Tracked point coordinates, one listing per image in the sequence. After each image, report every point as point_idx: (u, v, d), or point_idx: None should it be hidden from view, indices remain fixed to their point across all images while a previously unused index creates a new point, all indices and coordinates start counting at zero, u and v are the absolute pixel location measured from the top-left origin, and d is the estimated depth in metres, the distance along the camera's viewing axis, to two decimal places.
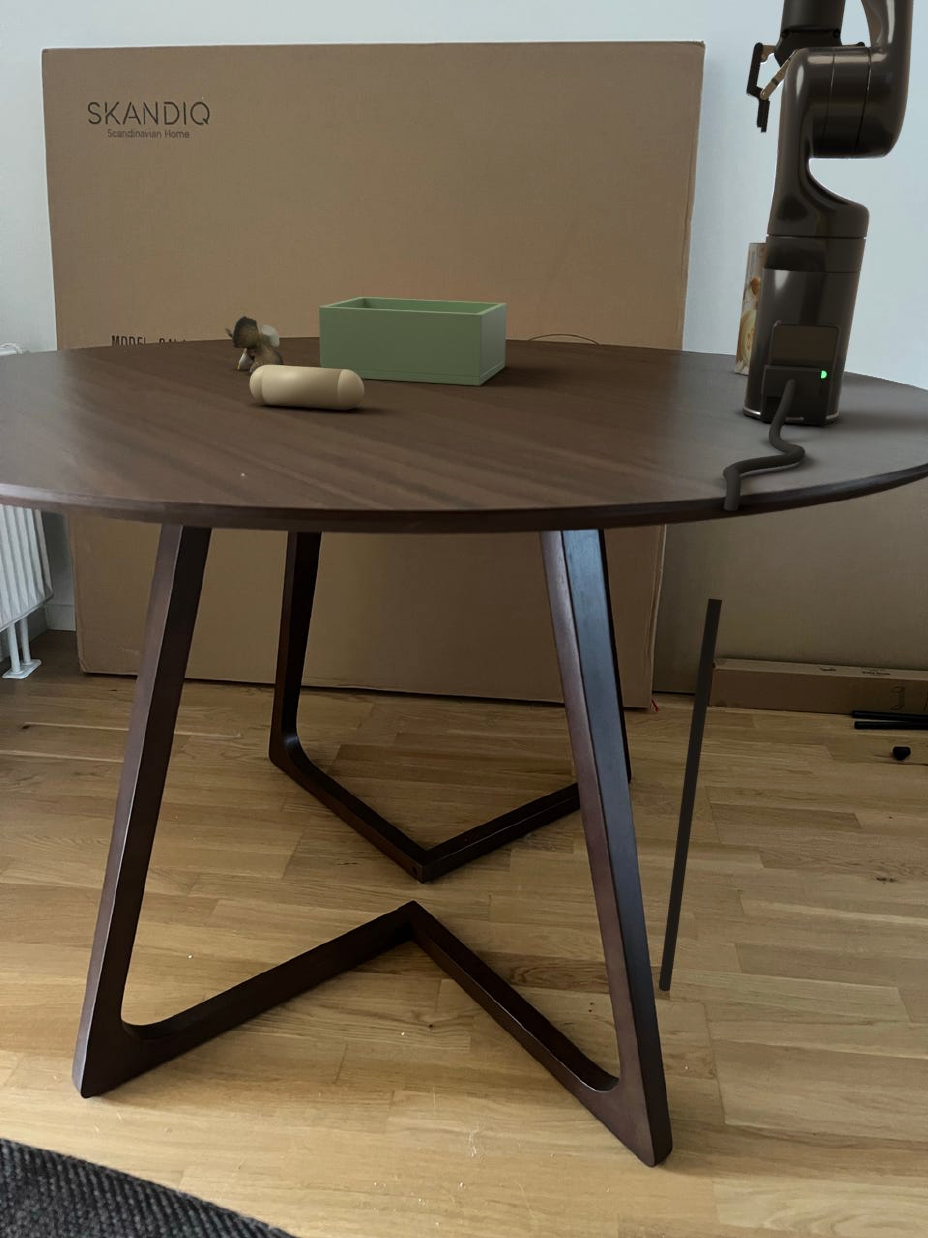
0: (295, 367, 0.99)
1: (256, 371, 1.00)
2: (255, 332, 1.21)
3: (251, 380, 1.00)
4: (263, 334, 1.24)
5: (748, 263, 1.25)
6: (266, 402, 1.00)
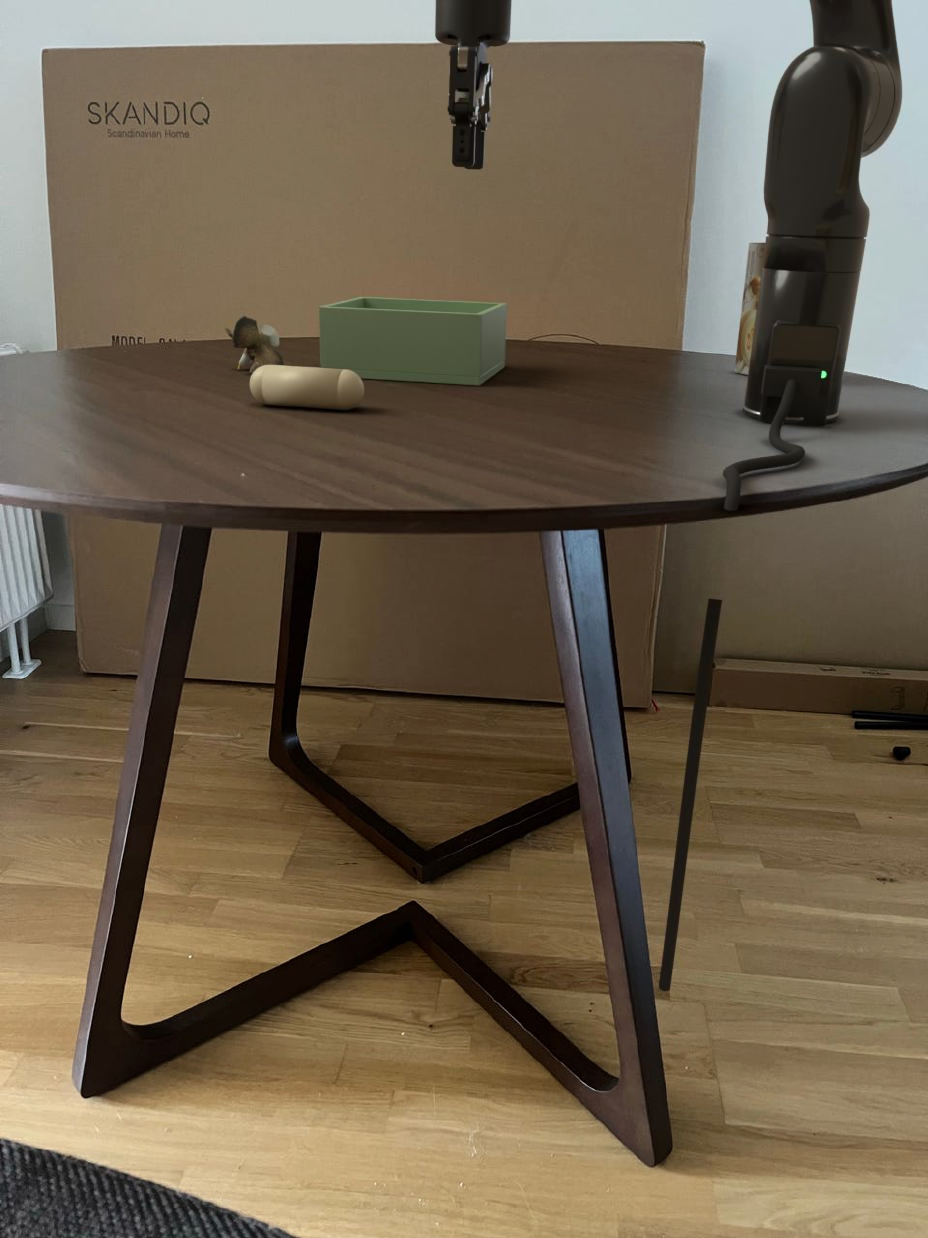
0: (295, 367, 0.99)
1: (256, 371, 1.00)
2: (255, 332, 1.21)
3: (251, 380, 1.00)
4: (263, 334, 1.24)
5: (748, 263, 1.25)
6: (266, 402, 1.00)
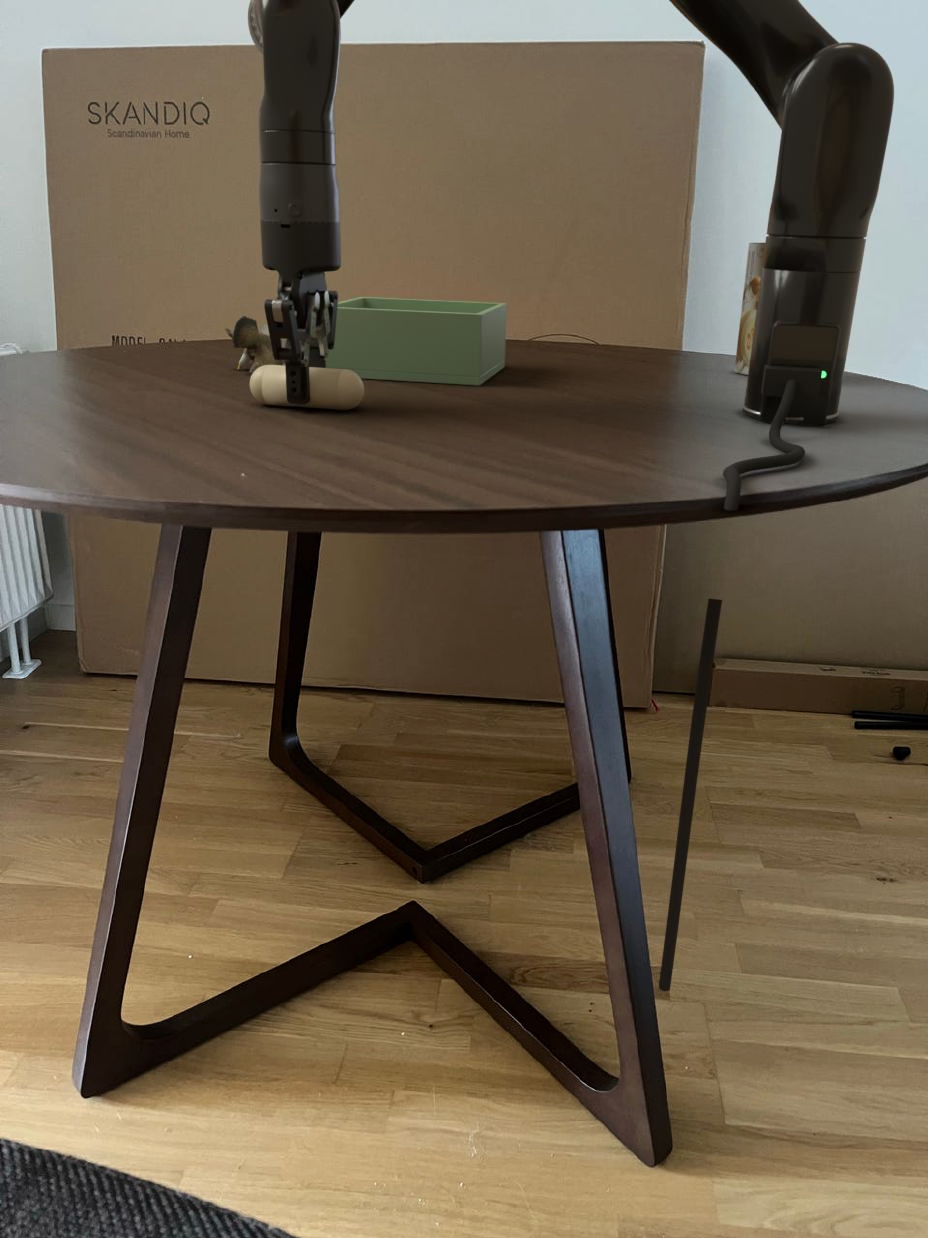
0: None
1: (256, 371, 1.00)
2: (255, 332, 1.21)
3: (251, 380, 1.00)
4: (263, 334, 1.24)
5: (748, 263, 1.25)
6: (266, 402, 1.00)
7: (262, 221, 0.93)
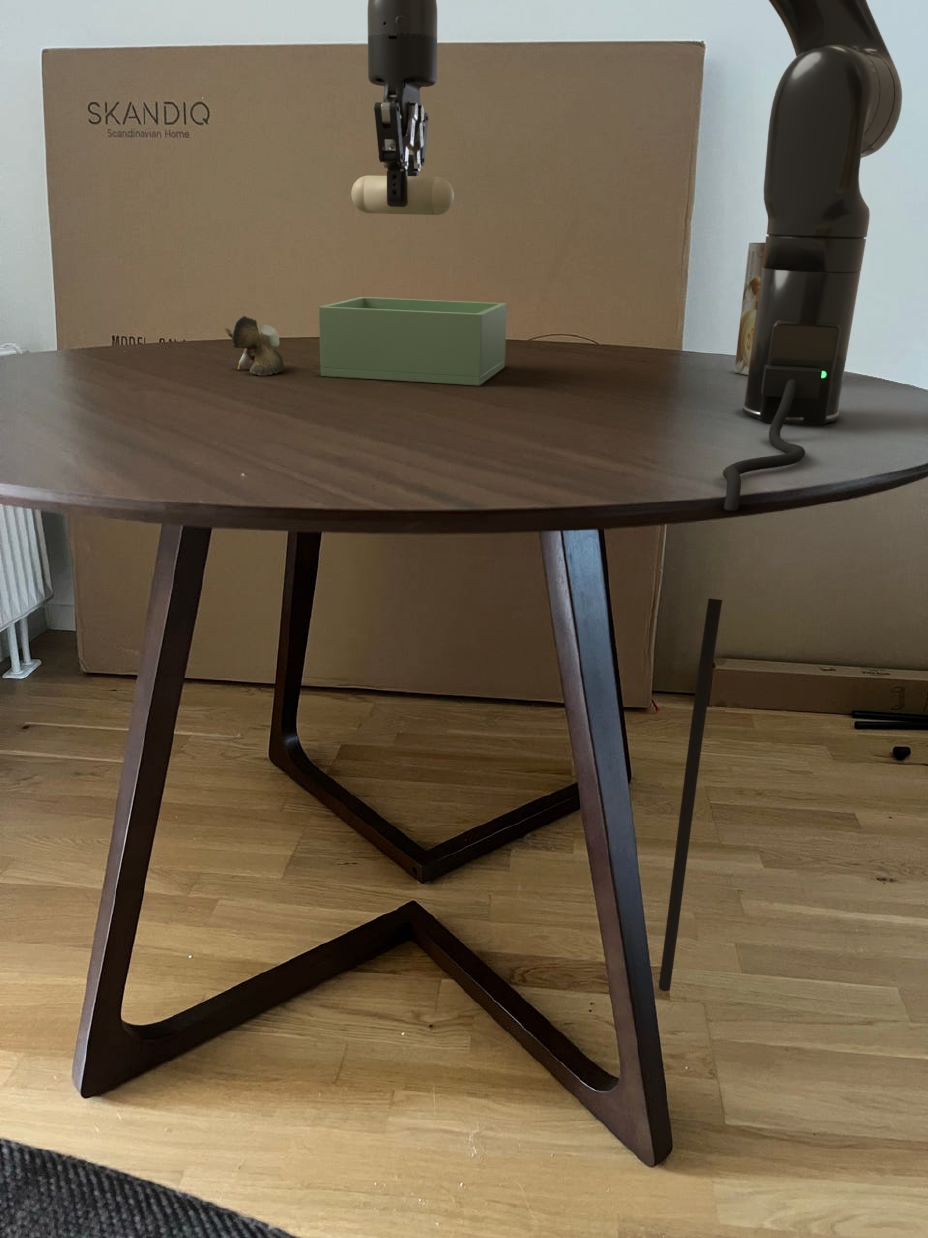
0: None
1: (358, 180, 1.13)
2: (255, 332, 1.21)
3: (353, 188, 1.13)
4: (263, 334, 1.24)
5: (748, 263, 1.25)
6: (366, 209, 1.14)
7: (371, 35, 1.06)
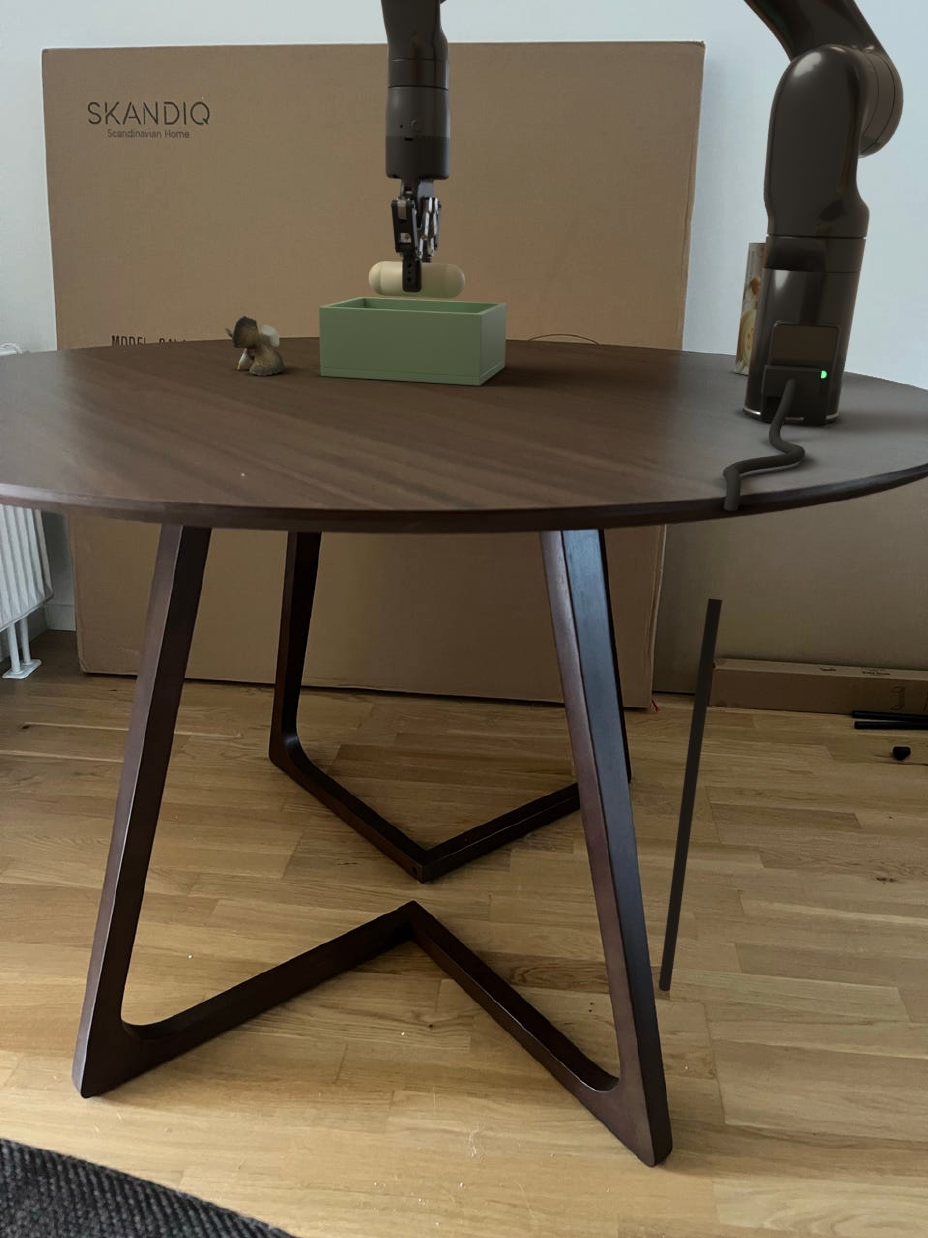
0: None
1: (375, 266, 1.20)
2: (255, 332, 1.21)
3: (371, 273, 1.20)
4: (263, 334, 1.24)
5: (748, 263, 1.25)
6: (383, 292, 1.21)
7: (388, 136, 1.13)
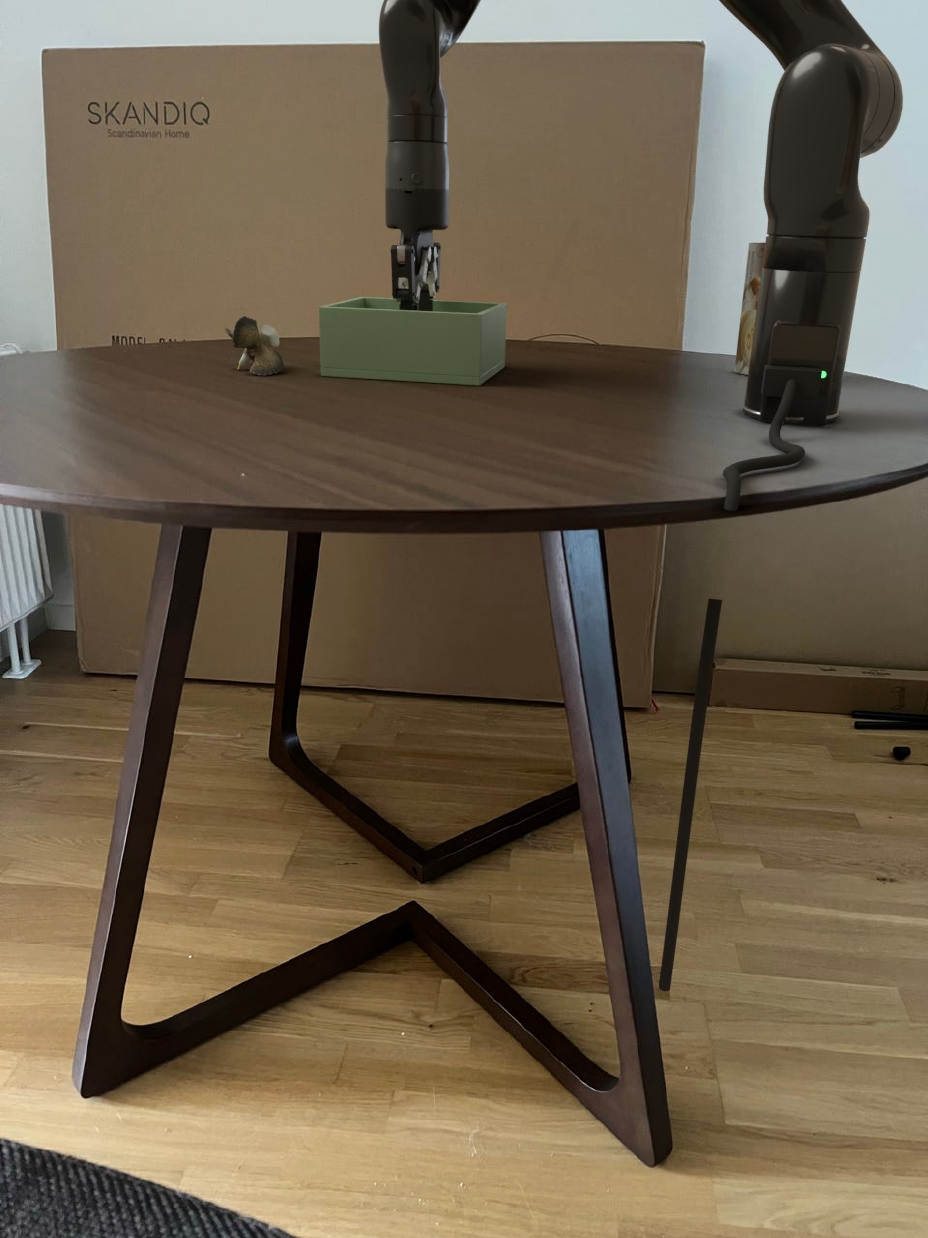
0: None
1: None
2: (255, 332, 1.21)
3: None
4: (263, 334, 1.24)
5: (748, 263, 1.25)
6: None
7: (388, 188, 1.15)
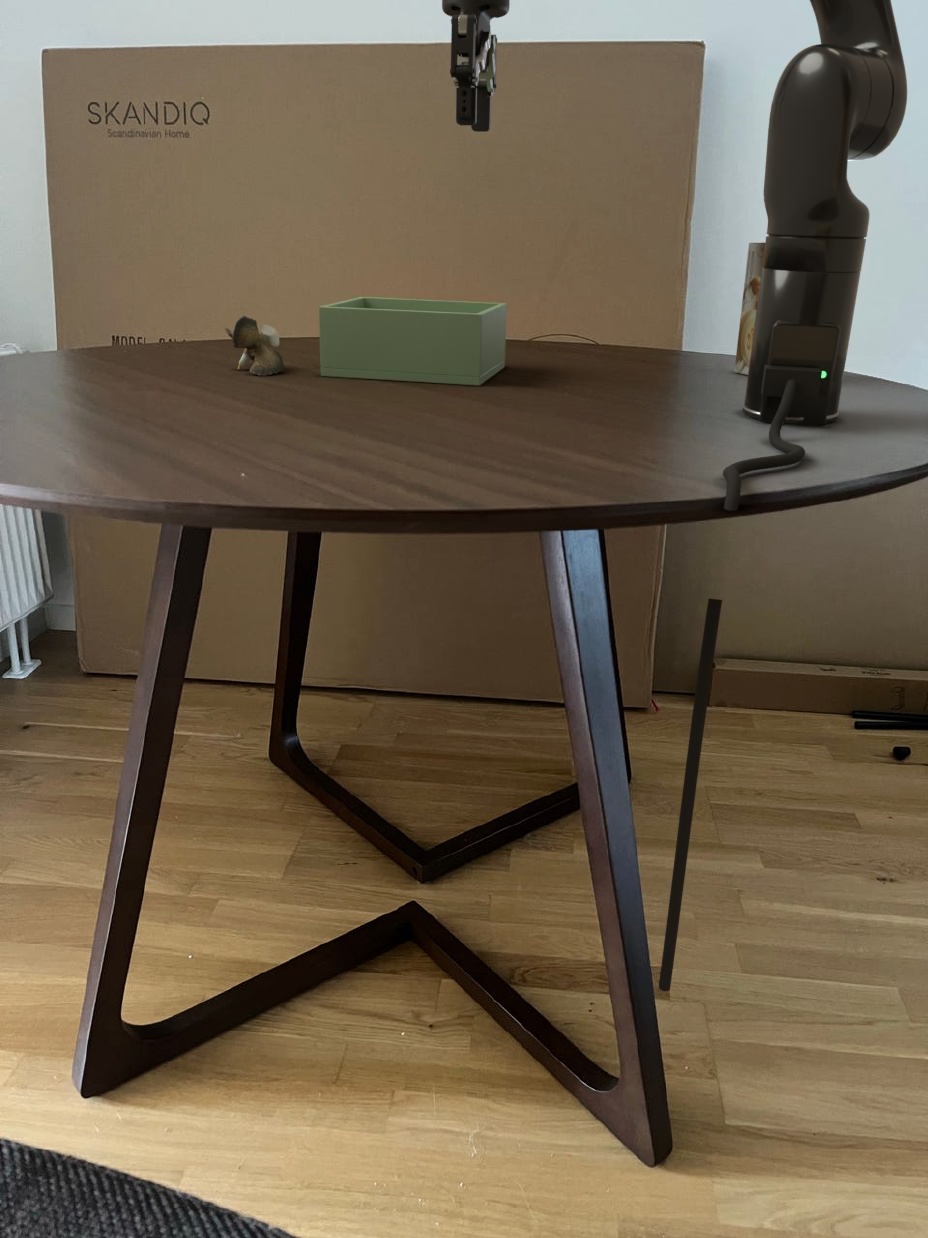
0: None
1: None
2: (255, 332, 1.21)
3: None
4: (263, 334, 1.24)
5: (748, 263, 1.25)
6: None
7: None
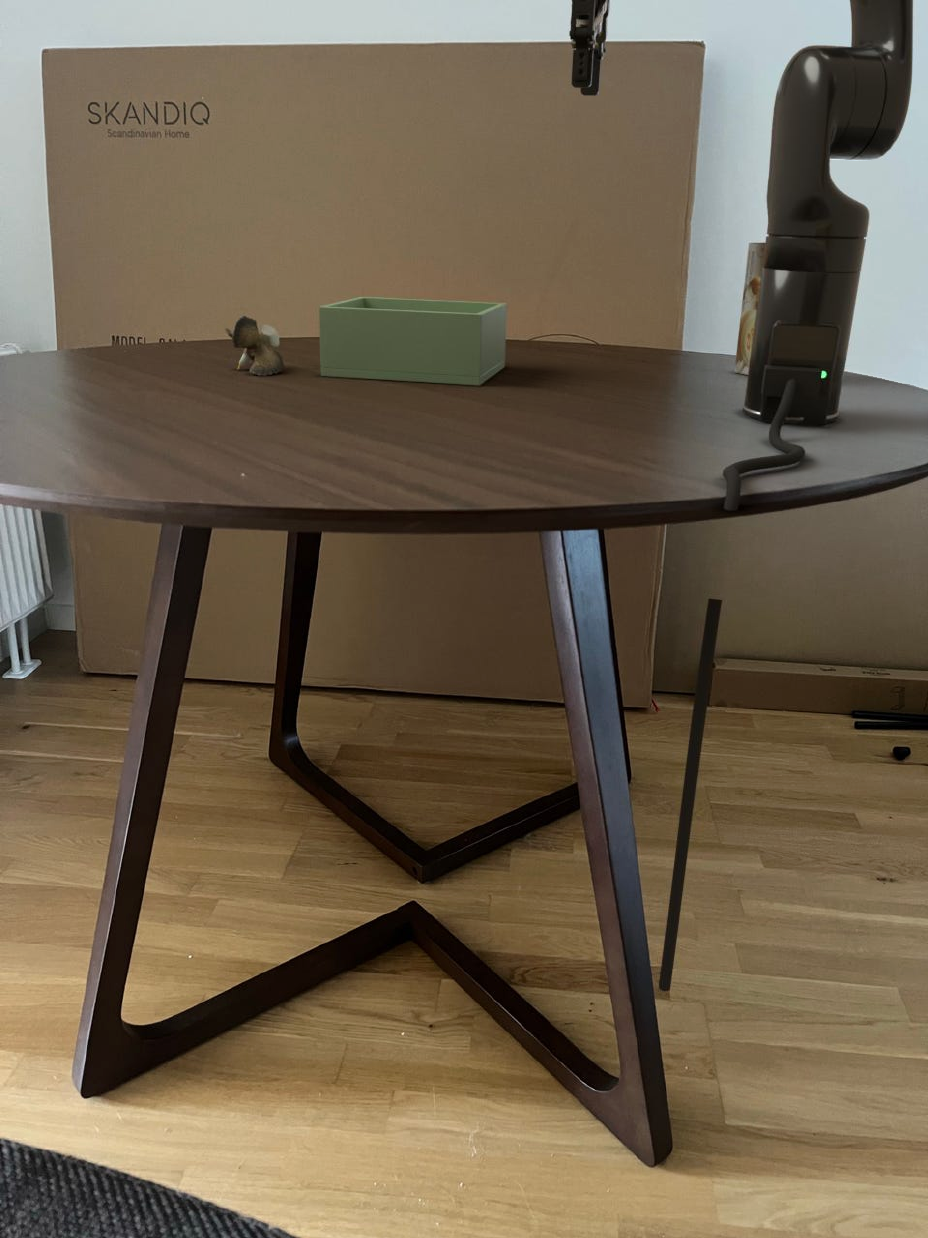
0: None
1: None
2: (255, 332, 1.21)
3: None
4: (263, 334, 1.24)
5: (748, 263, 1.25)
6: None
7: None
